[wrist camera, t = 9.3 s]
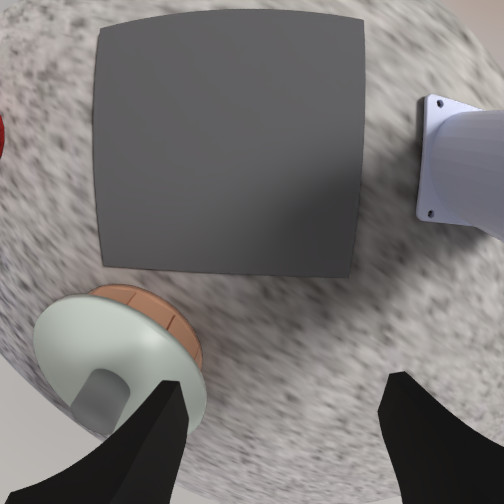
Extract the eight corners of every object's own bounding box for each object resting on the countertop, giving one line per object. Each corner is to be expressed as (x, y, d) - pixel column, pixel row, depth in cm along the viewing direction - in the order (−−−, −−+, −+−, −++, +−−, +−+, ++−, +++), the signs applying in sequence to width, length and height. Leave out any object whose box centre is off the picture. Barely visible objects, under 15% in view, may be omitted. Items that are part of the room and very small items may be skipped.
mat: (361, 22, 14) (363, 20, 13) (346, 274, 19) (348, 278, 19) (103, 30, 14) (100, 28, 14) (107, 263, 20) (103, 266, 19)
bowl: (198, 289, 20) (183, 323, 16) (206, 403, 24) (199, 439, 20) (62, 278, 20) (32, 302, 17) (93, 383, 24) (76, 412, 20)
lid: (194, 299, 16) (174, 346, 12) (216, 444, 20) (209, 486, 16) (17, 287, 16) (-19, 315, 13) (73, 417, 21) (55, 449, 17)
